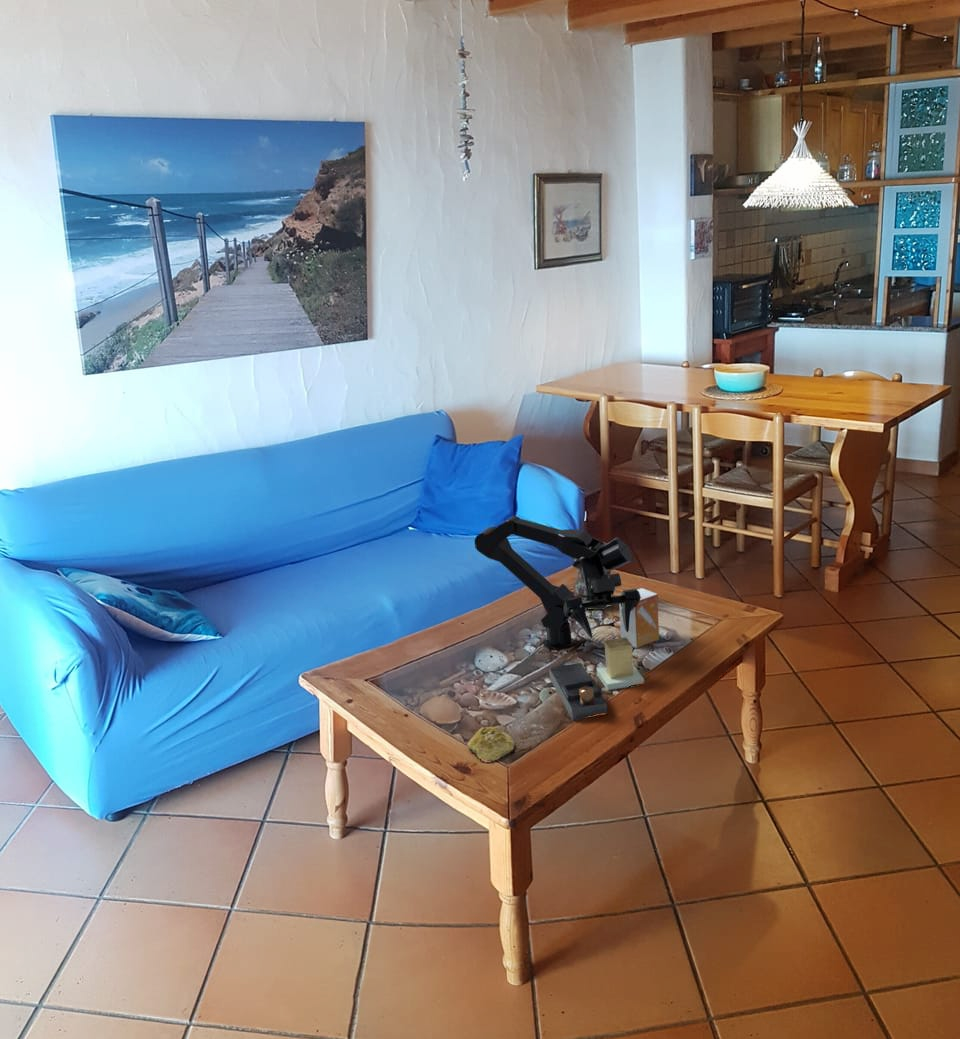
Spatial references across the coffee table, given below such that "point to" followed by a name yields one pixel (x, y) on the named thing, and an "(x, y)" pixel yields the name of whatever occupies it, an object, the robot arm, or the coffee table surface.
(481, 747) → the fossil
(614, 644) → the lever cap
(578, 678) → the plane body
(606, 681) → the sage mat
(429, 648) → the coffee table surface
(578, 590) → the apothecary jar
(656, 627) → the small box
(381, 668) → the coffee table surface
